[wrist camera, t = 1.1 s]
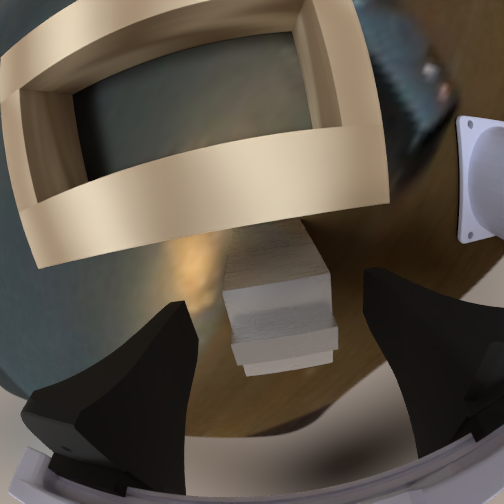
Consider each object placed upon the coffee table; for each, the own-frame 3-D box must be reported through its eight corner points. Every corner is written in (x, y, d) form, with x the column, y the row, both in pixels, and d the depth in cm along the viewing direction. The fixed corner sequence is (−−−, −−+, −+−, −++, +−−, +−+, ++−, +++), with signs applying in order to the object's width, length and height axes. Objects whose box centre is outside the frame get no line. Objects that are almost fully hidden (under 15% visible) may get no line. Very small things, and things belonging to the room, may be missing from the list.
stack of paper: (299, 218, 14) (337, 286, 8) (307, 286, 15) (337, 377, 9) (233, 230, 14) (218, 306, 8) (247, 296, 16) (246, 391, 9)
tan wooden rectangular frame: (308, -11, 9) (327, -55, 5) (349, 182, 13) (389, 202, 9) (50, 66, 10) (0, 57, 6) (83, 235, 14) (38, 268, 10)
